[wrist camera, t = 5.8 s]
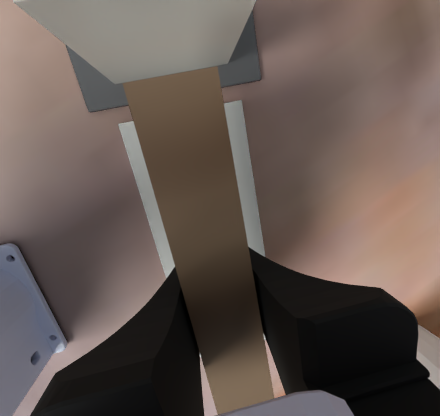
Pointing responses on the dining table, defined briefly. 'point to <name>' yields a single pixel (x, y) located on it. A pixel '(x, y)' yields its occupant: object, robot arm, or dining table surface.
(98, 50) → the tile
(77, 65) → the mat
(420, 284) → the dining table surface
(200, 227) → the bar
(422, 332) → the shot glass
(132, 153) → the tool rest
